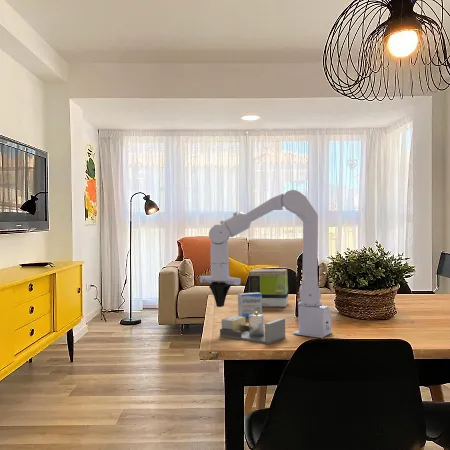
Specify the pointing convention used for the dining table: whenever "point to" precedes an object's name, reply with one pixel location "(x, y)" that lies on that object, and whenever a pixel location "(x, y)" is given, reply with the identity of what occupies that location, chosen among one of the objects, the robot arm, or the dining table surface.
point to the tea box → (270, 286)
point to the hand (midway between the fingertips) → (220, 306)
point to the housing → (256, 325)
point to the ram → (234, 323)
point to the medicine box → (249, 304)
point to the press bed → (271, 335)
